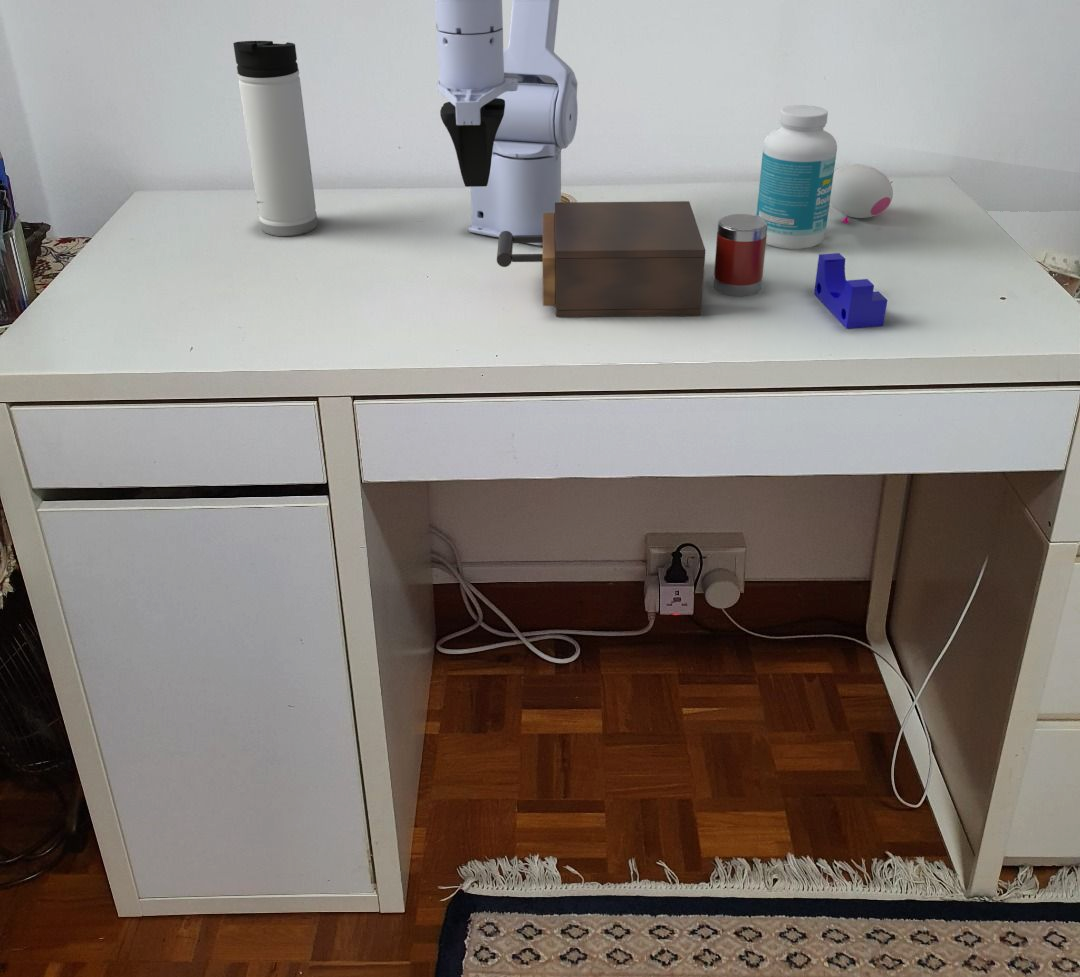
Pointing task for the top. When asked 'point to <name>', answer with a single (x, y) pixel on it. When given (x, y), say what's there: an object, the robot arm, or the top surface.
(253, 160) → the travel mug
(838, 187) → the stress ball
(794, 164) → the pill bottle
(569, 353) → the top surface
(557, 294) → the organiser
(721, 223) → the can
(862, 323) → the cable holder
